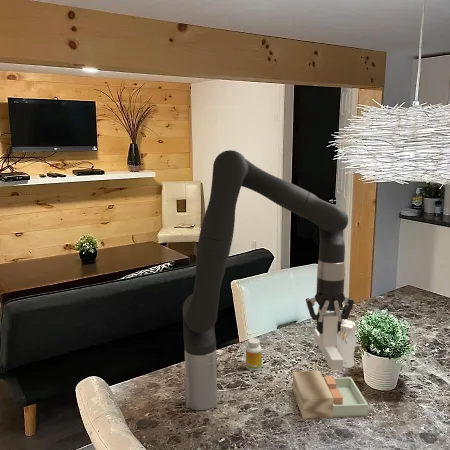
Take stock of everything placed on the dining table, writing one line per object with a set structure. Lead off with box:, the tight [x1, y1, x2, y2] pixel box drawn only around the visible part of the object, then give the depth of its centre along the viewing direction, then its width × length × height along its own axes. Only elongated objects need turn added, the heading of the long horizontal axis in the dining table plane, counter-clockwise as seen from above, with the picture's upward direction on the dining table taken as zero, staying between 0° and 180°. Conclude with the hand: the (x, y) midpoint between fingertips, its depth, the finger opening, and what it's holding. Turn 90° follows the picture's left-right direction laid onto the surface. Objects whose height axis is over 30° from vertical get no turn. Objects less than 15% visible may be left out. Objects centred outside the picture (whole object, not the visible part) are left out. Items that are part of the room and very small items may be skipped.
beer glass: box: [336, 319, 358, 369], centre depth 157 cm, size 7×7×15 cm
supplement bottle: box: [245, 337, 263, 371], centre depth 156 cm, size 5×5×10 cm
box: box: [323, 376, 369, 418], centre depth 136 cm, size 10×15×4 cm, turn 3°
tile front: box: [330, 389, 343, 405], centre depth 132 cm, size 4×4×2 cm
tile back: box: [324, 375, 336, 390], centre depth 139 cm, size 4×4×2 cm
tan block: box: [291, 370, 334, 420], centre depth 135 cm, size 8×15×6 cm, turn 3°
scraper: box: [313, 310, 344, 371], centre depth 131 cm, size 4×20×12 cm, turn 3°
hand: (328, 332), depth 131 cm, fingers closed on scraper, 4 cm apart
